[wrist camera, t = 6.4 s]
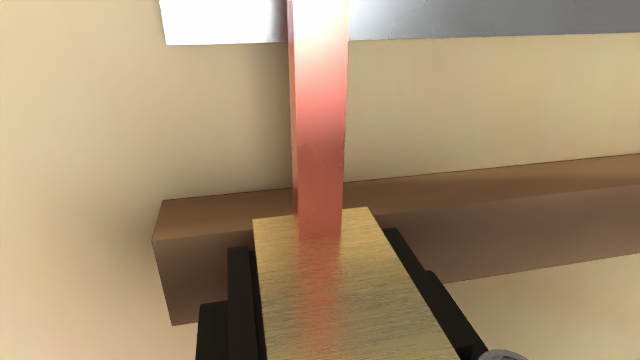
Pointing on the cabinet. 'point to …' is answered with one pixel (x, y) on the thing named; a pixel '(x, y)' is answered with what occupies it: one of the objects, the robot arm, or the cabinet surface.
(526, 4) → the bolt plate
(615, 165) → the beam
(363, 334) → the slider
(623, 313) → the cabinet surface
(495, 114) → the cabinet surface
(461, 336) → the robot arm
